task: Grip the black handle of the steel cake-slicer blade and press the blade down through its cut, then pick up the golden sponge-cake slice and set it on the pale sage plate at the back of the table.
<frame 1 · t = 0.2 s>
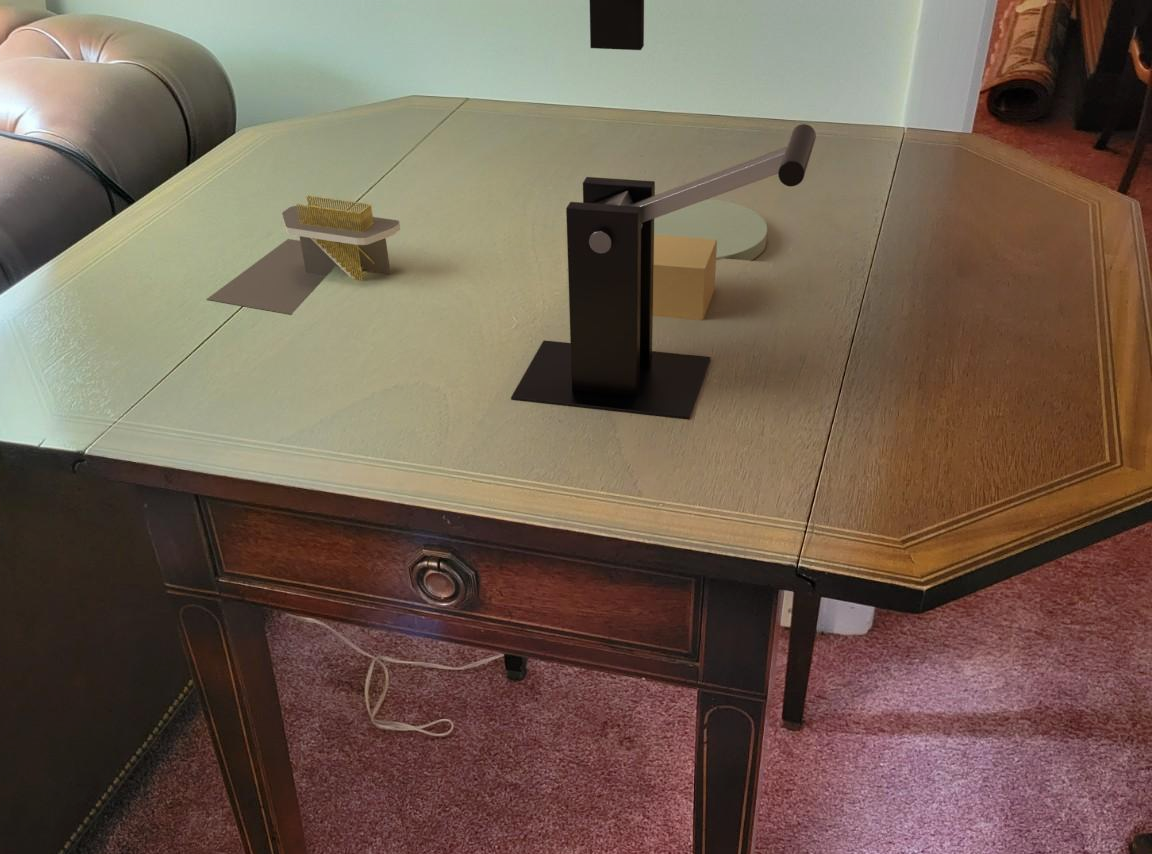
hand: (644, 12, 69), 24 cm above the table, tool pointing down, fingers open, 13 cm apart
slicer: (612, 391, 83), on the table
blade: (695, 191, 73), point 14 cm above the table, hinge at 24.0°
platform: (343, 285, 97), on the table
cake slice: (675, 313, 91), on the table
plate: (693, 240, 101), on the table
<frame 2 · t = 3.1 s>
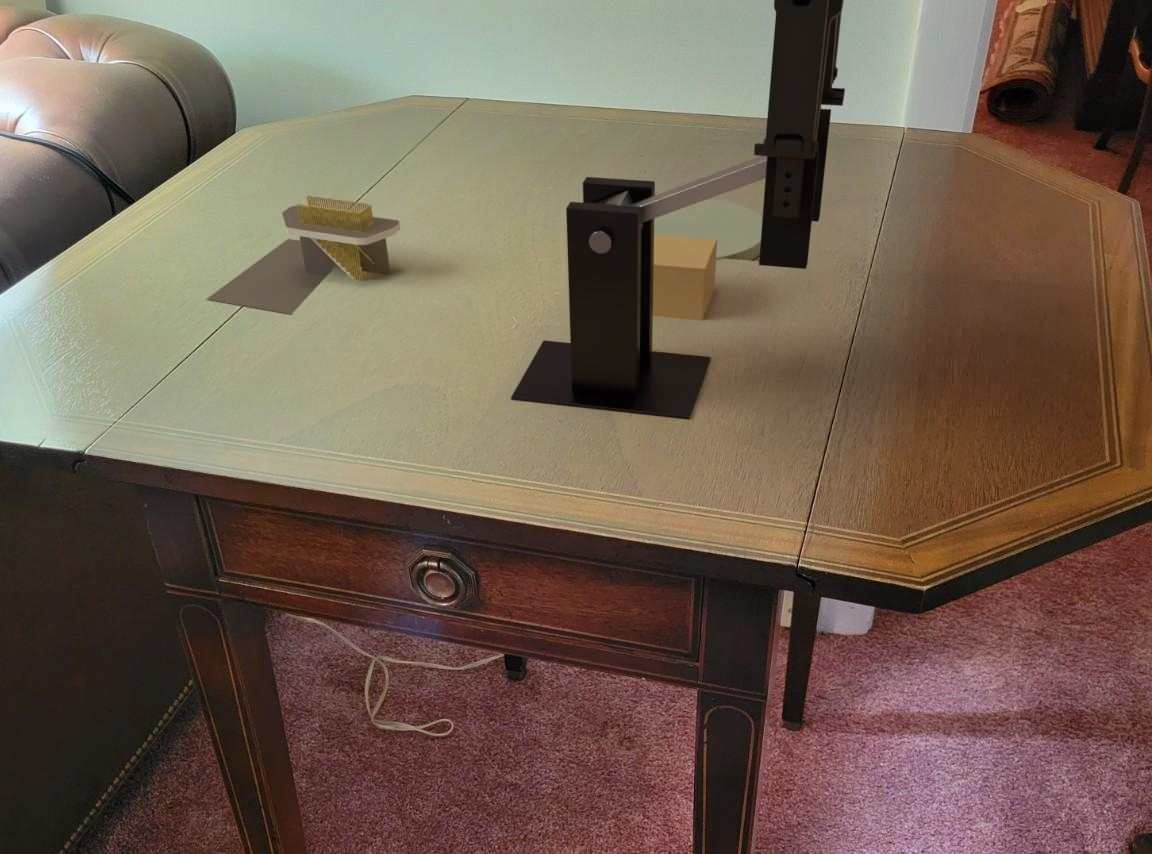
hand: (790, 239, 73), 12 cm above the table, tool pointing down, fingers closed on blade, 6 cm apart
blade: (695, 191, 73), point 14 cm above the table, hinge at 24.0°, touching gripper
everything else where it was.
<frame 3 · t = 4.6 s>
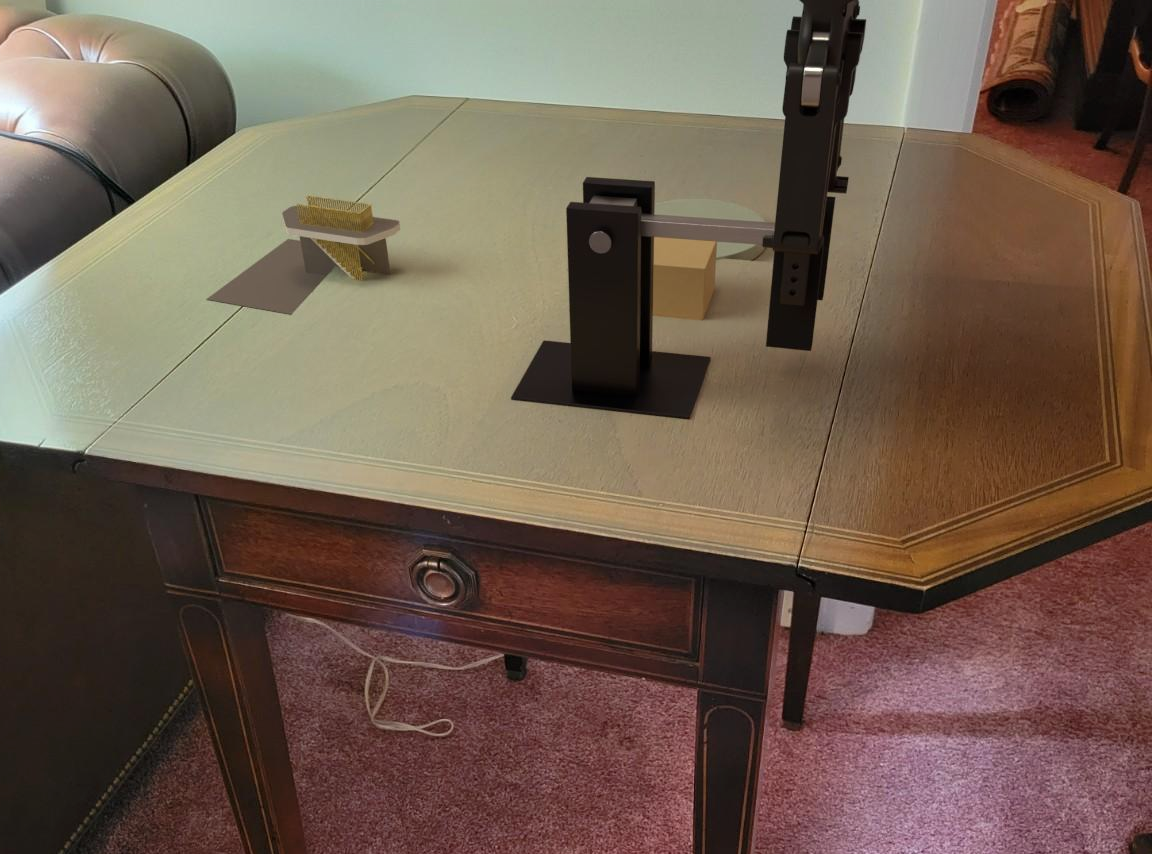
hand: (795, 319, 76), 7 cm above the table, tool pointing down, fingers closed on blade, 6 cm apart
blade: (702, 229, 74), point 12 cm above the table, hinge at 0.2°, touching gripper
everything else where it was.
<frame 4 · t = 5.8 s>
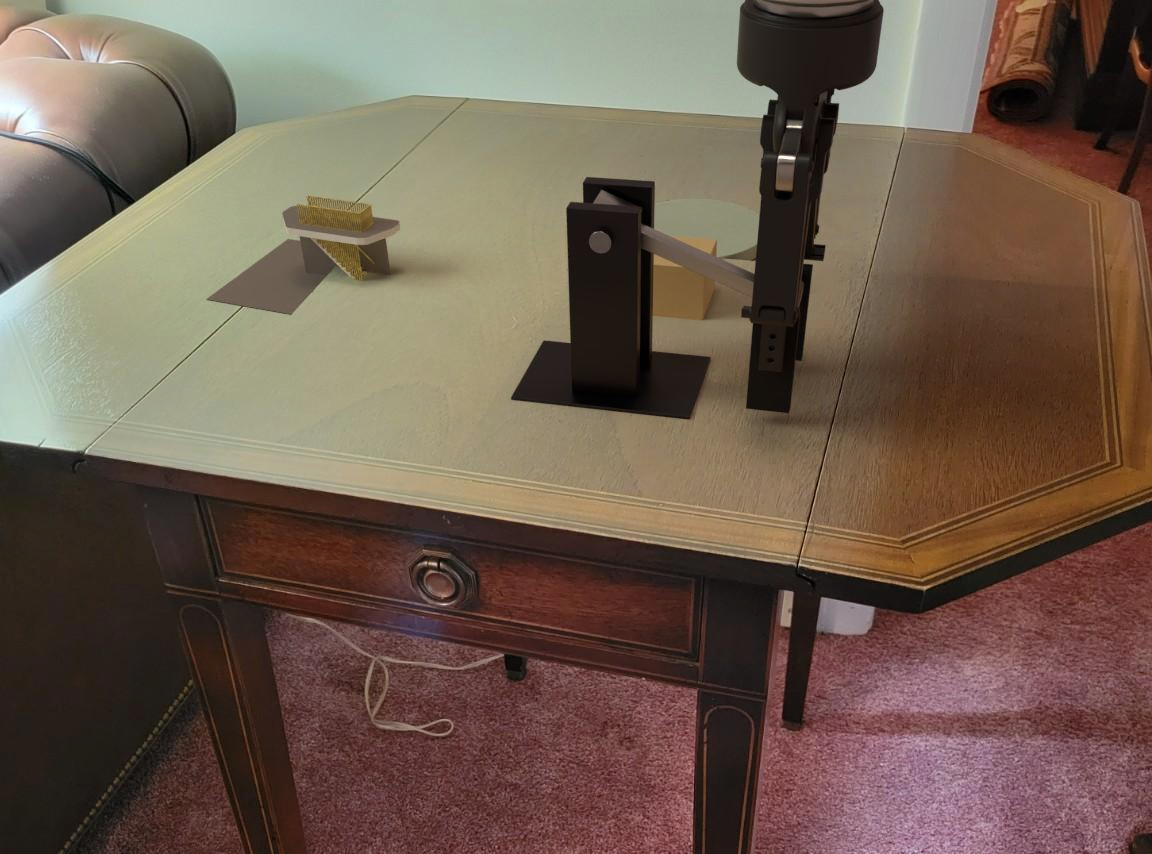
hand: (775, 380, 79), 2 cm above the table, tool pointing down, fingers closed on blade, 6 cm apart
blade: (695, 259, 75), point 10 cm above the table, hinge at -20.6°, touching gripper
everything else where it was.
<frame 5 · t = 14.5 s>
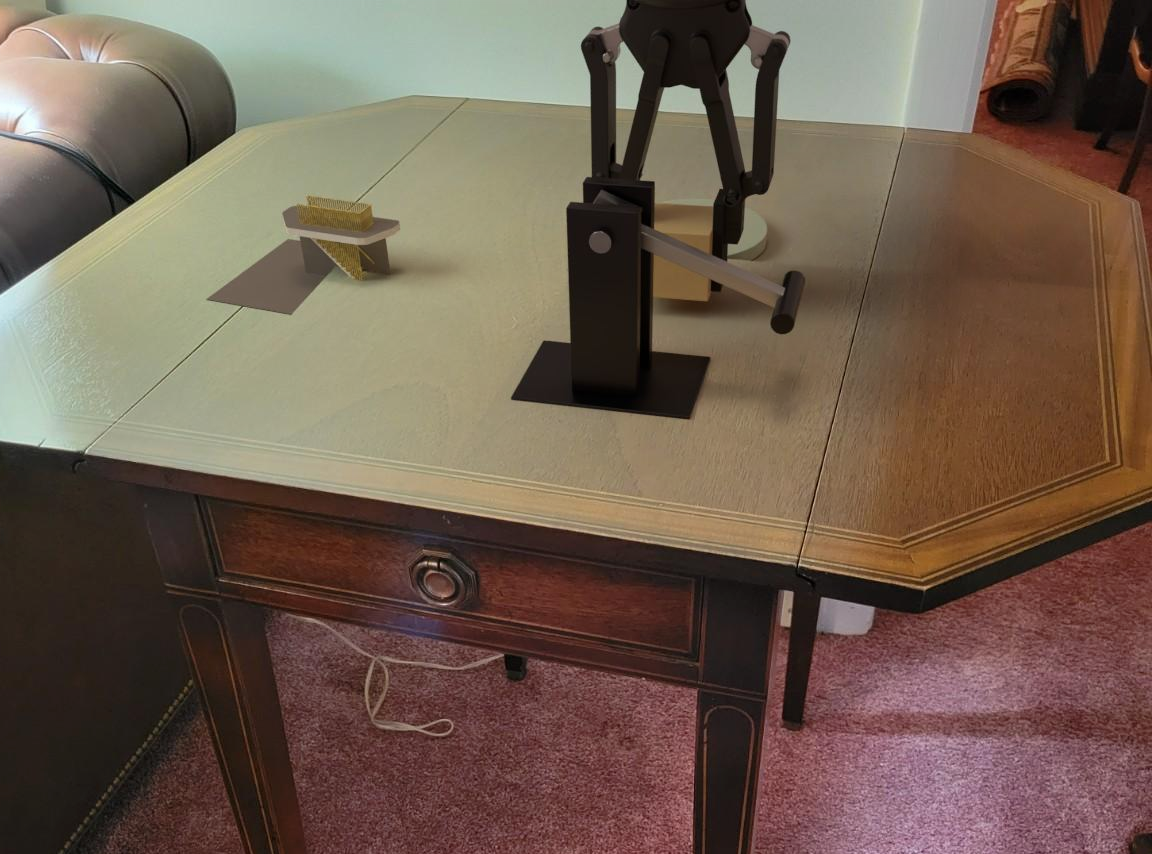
hand: (680, 279, 89), 3 cm above the table, tool pointing down, fingers closed on cake slice, 5 cm apart
blade: (695, 259, 75), point 10 cm above the table, hinge at -20.7°
cake slice: (680, 283, 90), point 2 cm above the table, touching gripper
everything else where it was.
when the fingers open (2 cm above the table, at t = 18.8 s): cake slice stays where it is, resting on plate.
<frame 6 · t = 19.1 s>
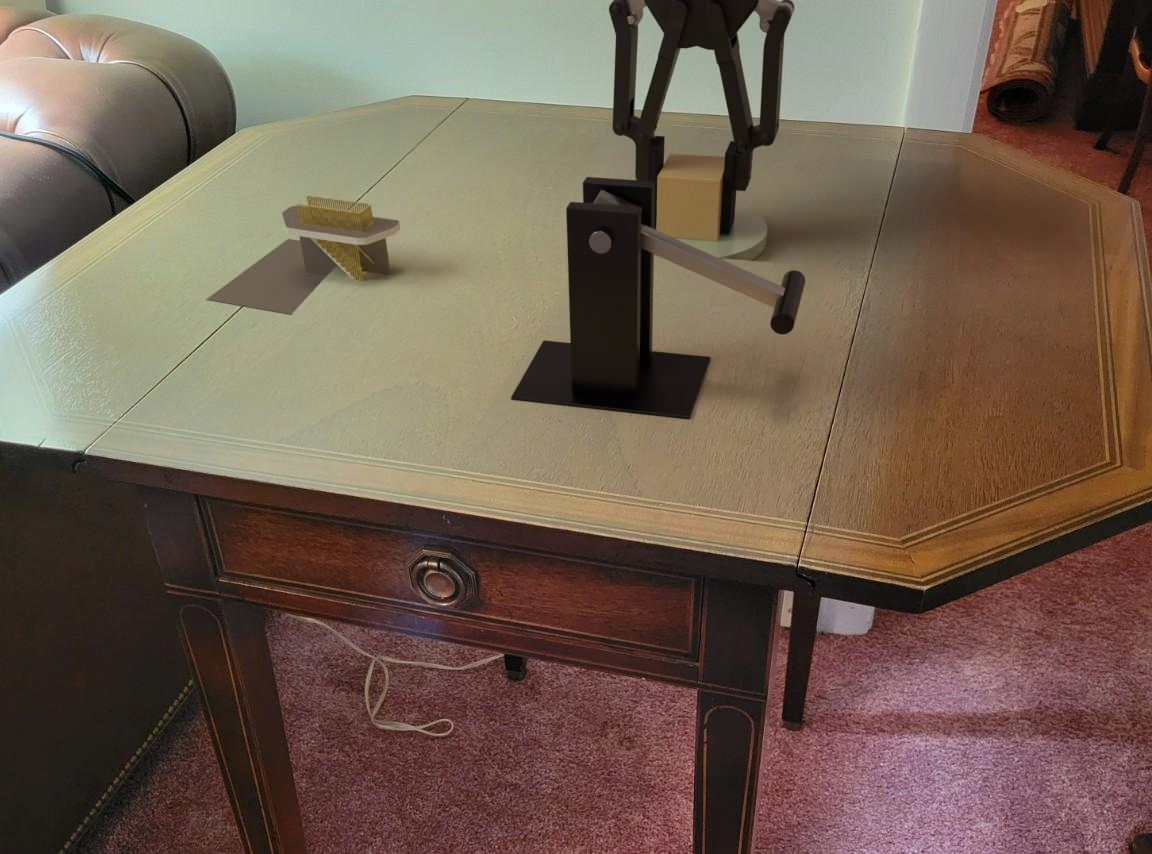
hand: (690, 223, 100), 1 cm above the table, tool pointing down, fingers open, 5 cm apart
cake slice: (692, 226, 100), point 1 cm above the table, touching plate
everything else where it was.
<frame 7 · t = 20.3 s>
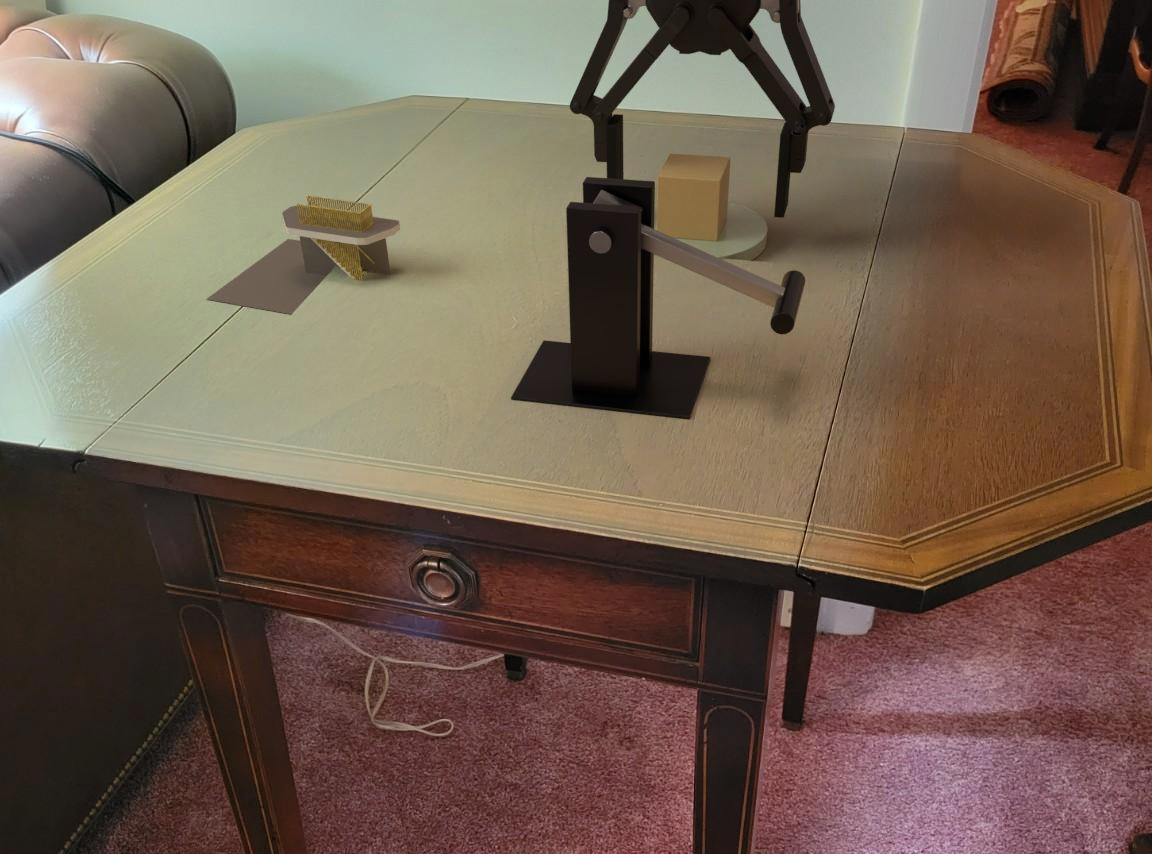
hand: (696, 206, 99), 3 cm above the table, tool pointing down, fingers open, 13 cm apart
nothing on the table moved.
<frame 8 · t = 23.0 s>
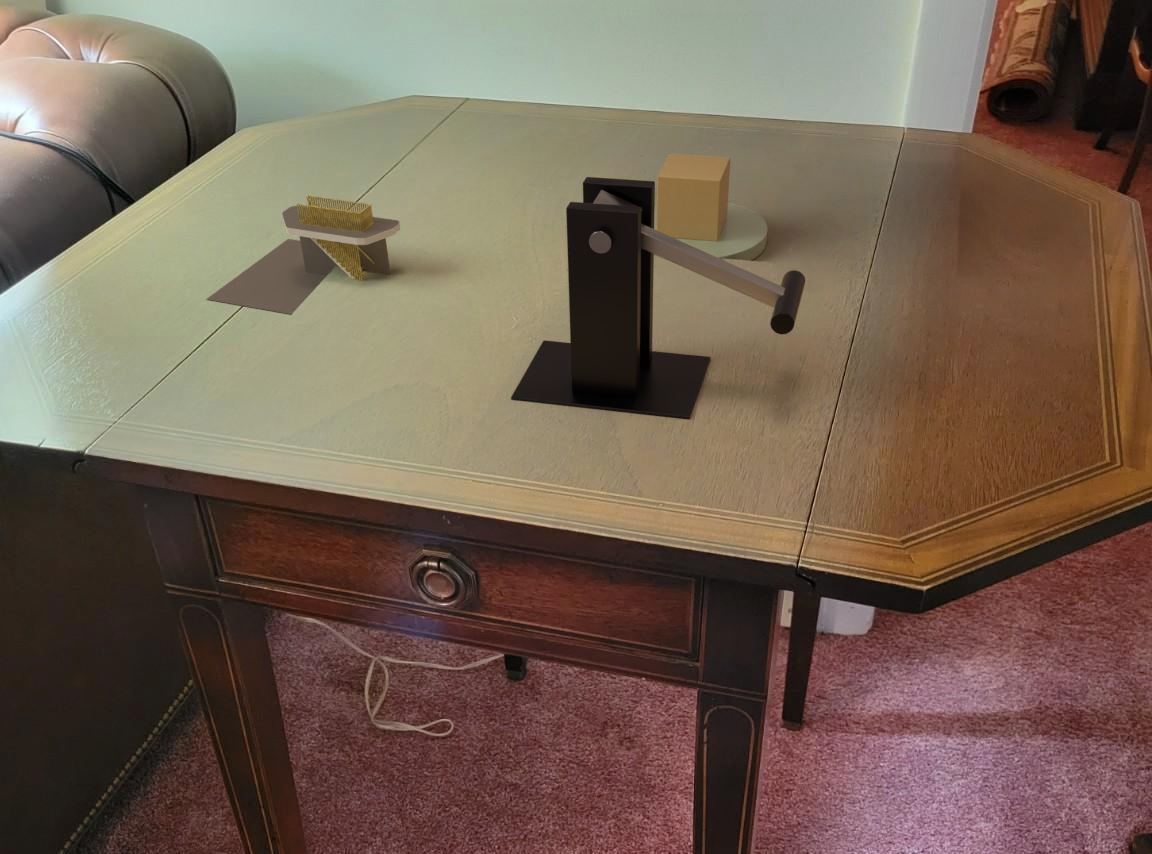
nothing on the table moved.
at the end: blade at -21° (first picture: +24°); cake slice inside the target area on the plate (0.2 cm from its centre), point 1.2 cm above the plate's base; cake slice tilted 0° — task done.
